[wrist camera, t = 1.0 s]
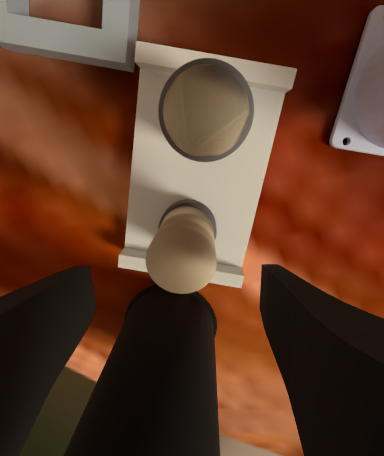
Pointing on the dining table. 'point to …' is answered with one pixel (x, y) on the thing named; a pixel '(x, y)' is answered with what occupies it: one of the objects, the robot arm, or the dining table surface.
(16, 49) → the pin block
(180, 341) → the aerosol can
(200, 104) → the plain peg
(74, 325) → the robot arm
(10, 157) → the dining table surface
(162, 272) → the banded peg
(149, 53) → the flanged base plate
